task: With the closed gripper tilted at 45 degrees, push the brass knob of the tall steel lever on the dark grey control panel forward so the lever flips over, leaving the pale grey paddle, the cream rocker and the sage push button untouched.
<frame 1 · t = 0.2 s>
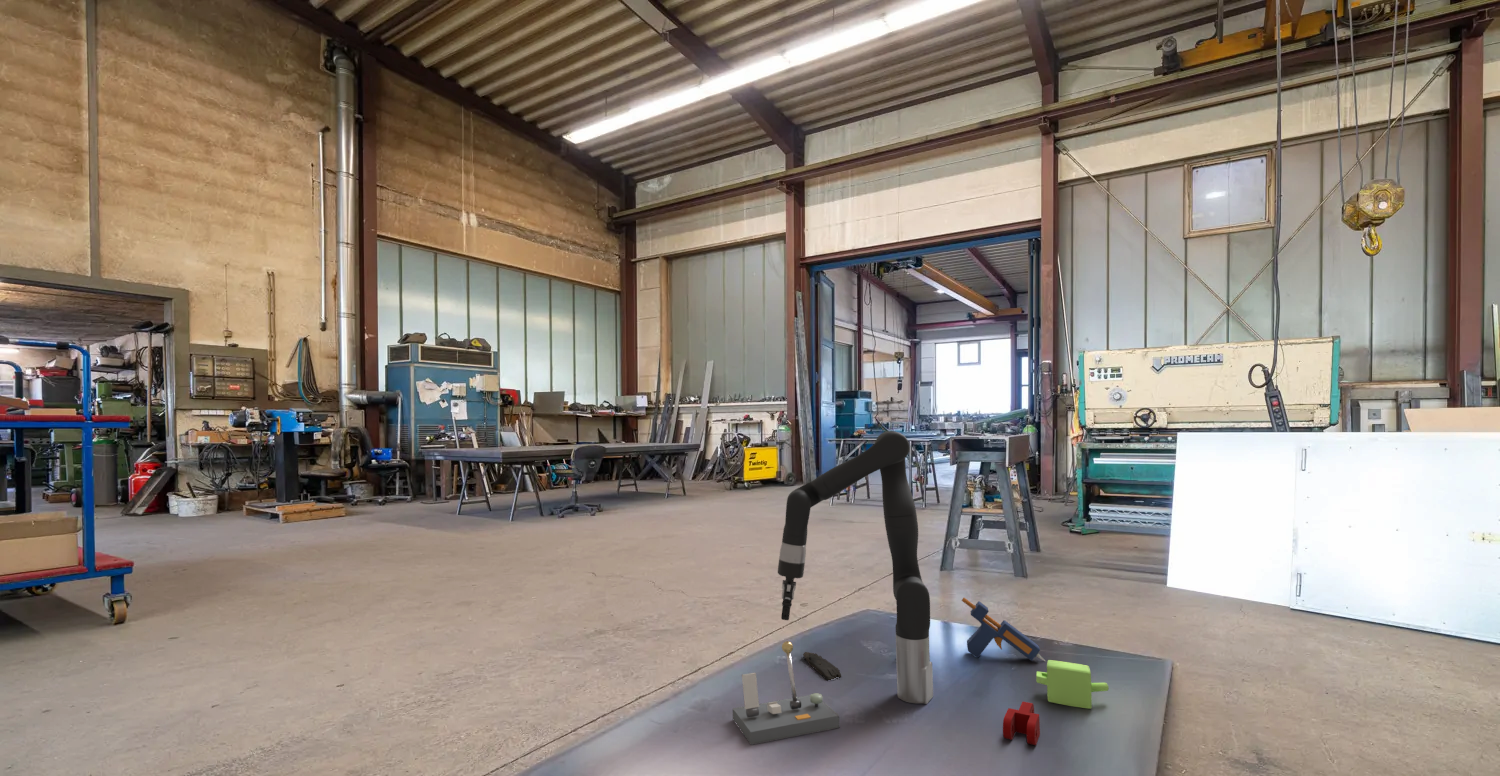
hand: (785, 615, 184), 22 cm above the table, tool pointing down, fingers open, 8 cm apart
control panel: (785, 723, 165), on the table
pale grey paddle: (750, 694, 163), point 8 cm above the table, hinge at -15.0°
brass lever: (791, 674, 169), point 11 cm above the table, hinge at -20.0°
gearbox: (1072, 700, 177), on the table
wood: (822, 669, 203), on the table
push button: (816, 700, 168), point 4 cm above the table, slide at 0.0 cm
cream rocker: (774, 707, 164), point 5 cm above the table, hinge at -8.0°
mechanical linkage: (1024, 732, 159), on the table
glue gun: (1003, 658, 209), on the table
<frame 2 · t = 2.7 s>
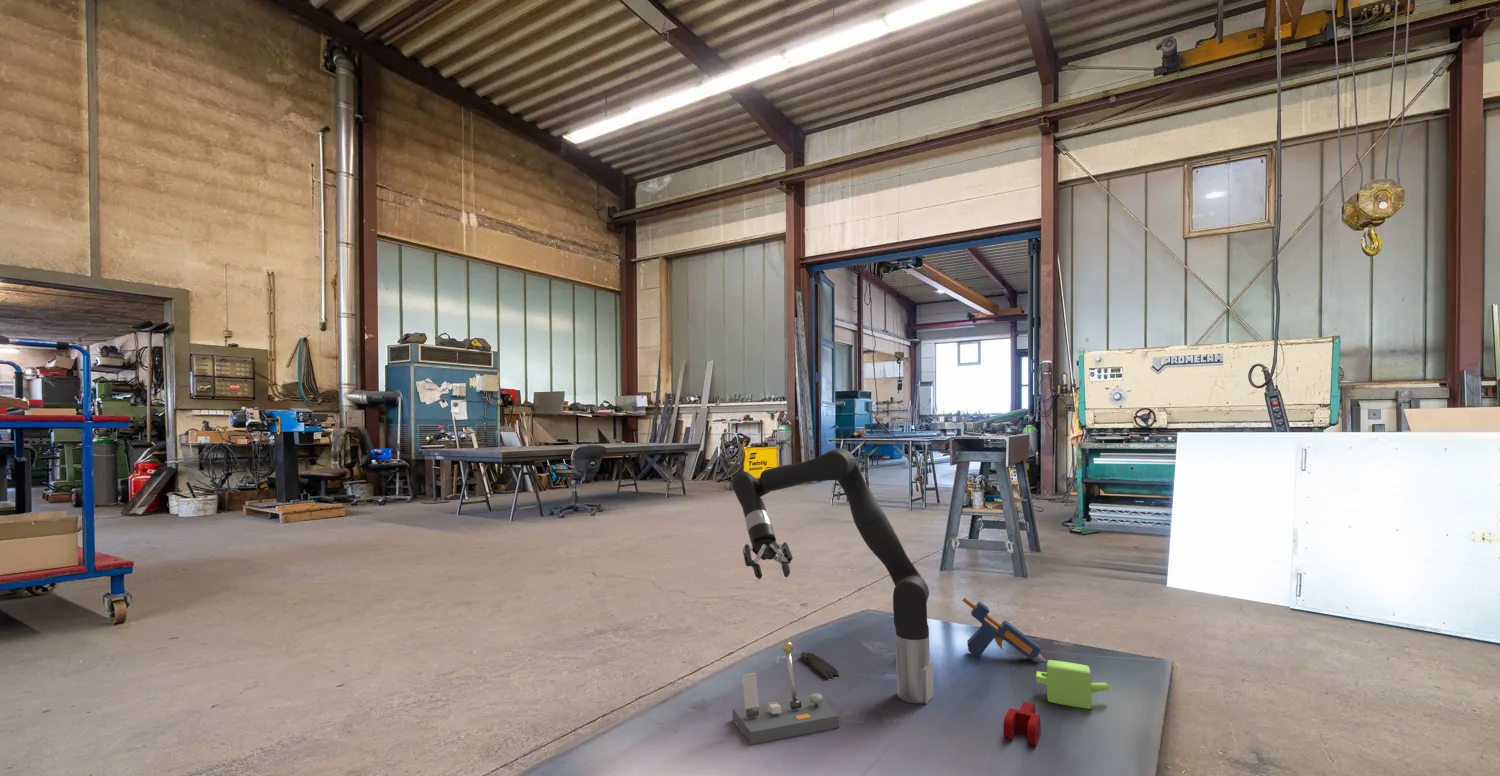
hand: (773, 576, 183), 34 cm above the table, tool tilted 40°, fingers open, 8 cm apart
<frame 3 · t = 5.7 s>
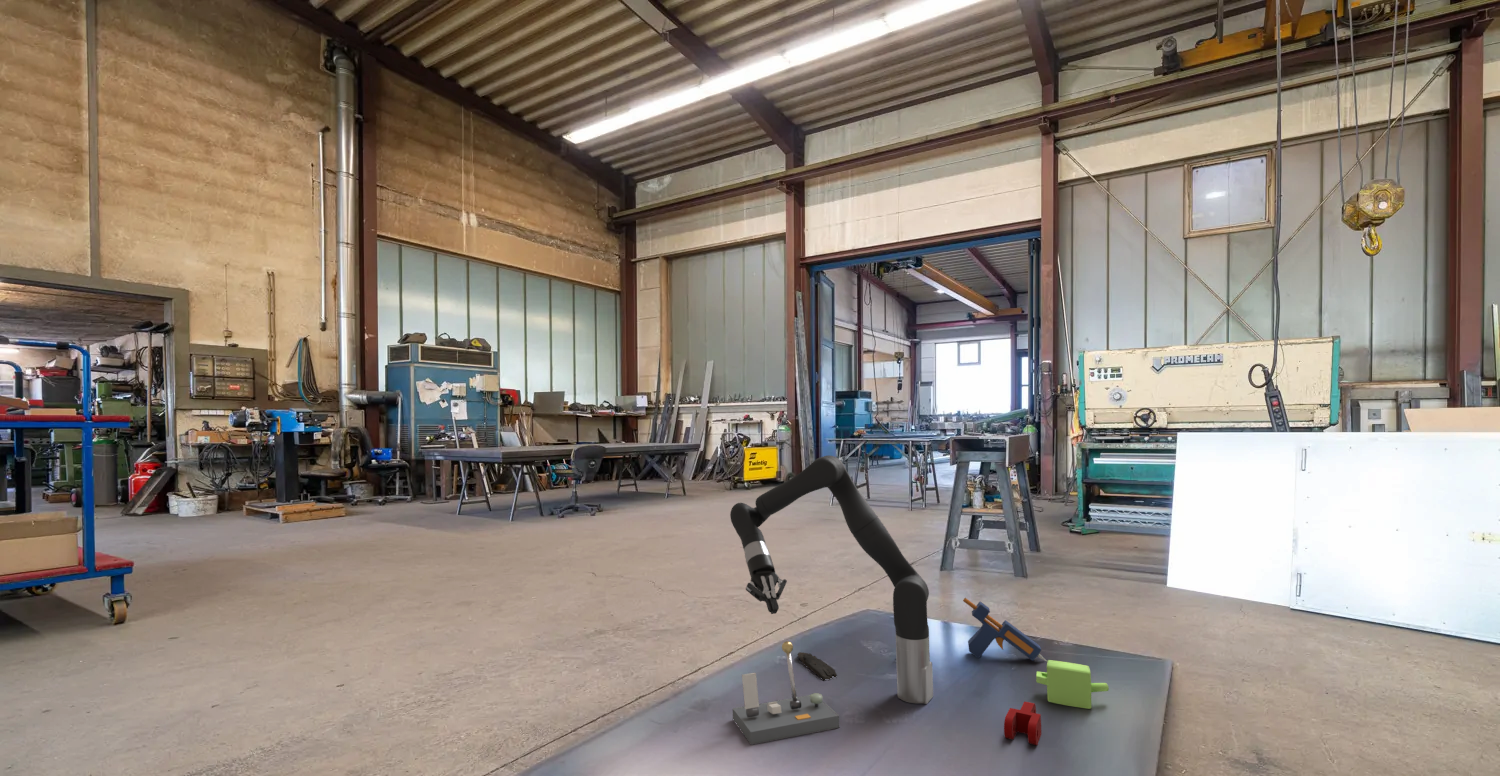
hand: (774, 612, 180), 24 cm above the table, tool tilted 45°, fingers closed
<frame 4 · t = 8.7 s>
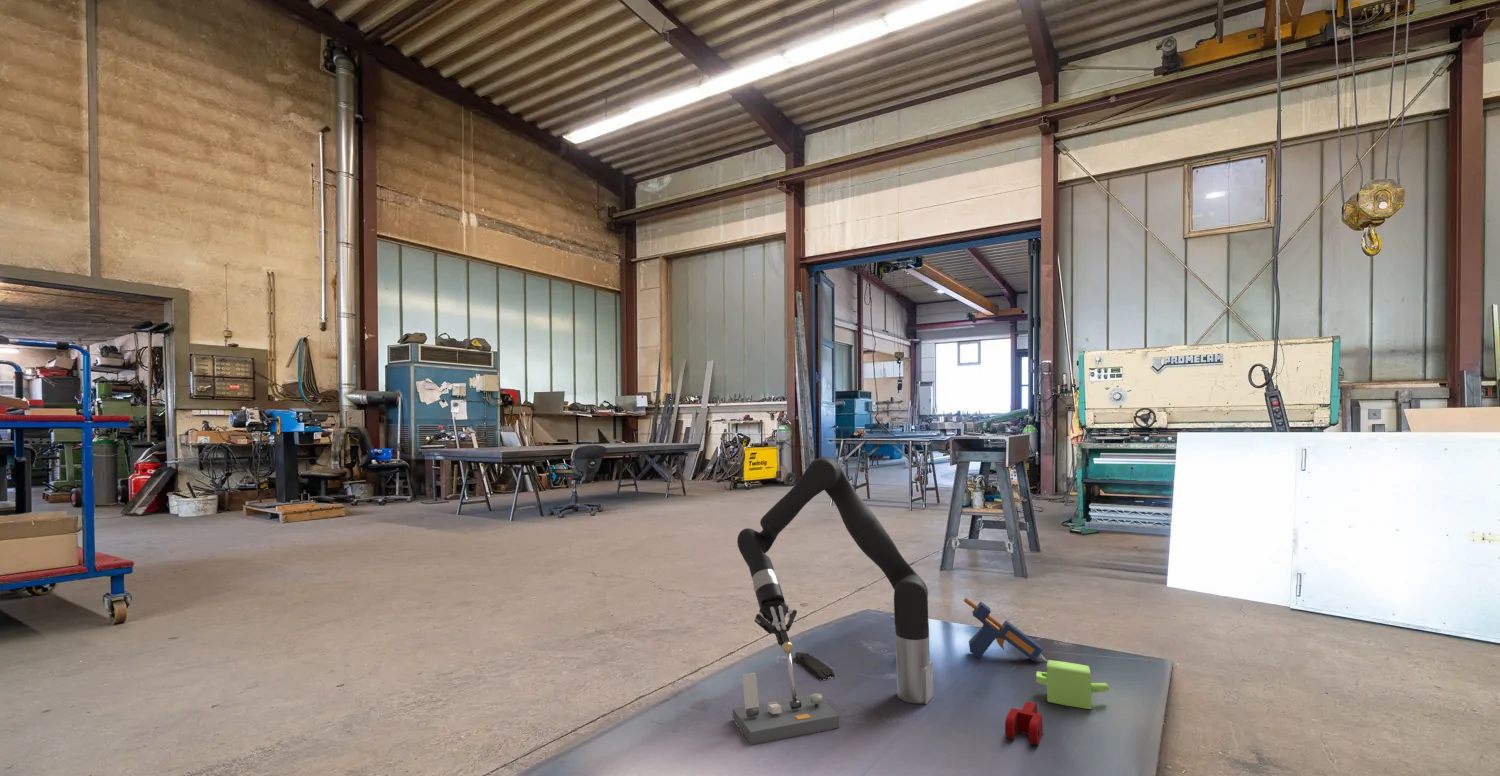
hand: (784, 645, 173), 17 cm above the table, tool tilted 45°, fingers closed
brass lever: (791, 674, 169), point 11 cm above the table, hinge at -20.0°, touching gripper
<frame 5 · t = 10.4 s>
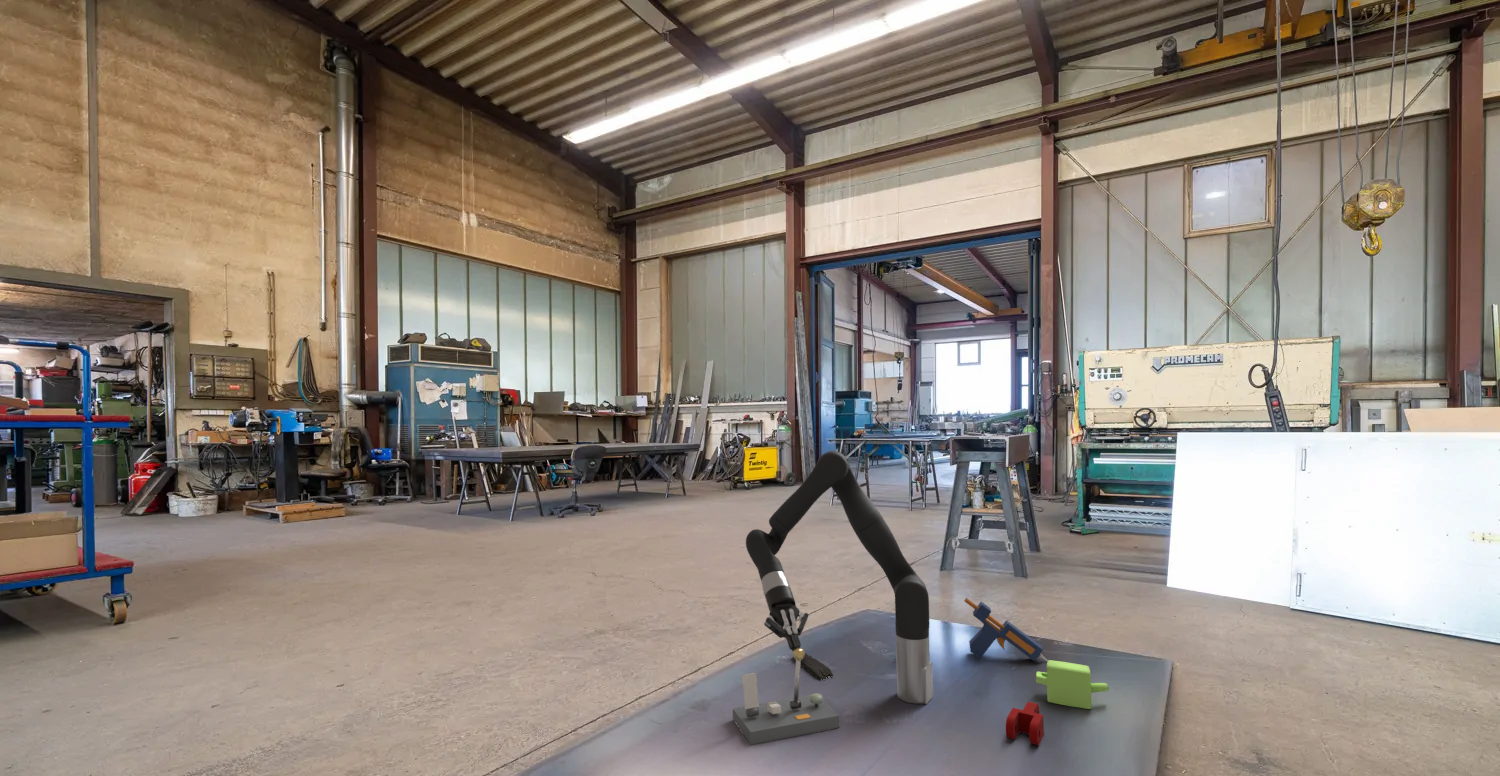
hand: (796, 649, 166), 19 cm above the table, tool tilted 45°, fingers closed
brass lever: (797, 678, 165), point 12 cm above the table, hinge at 10.9°, touching gripper
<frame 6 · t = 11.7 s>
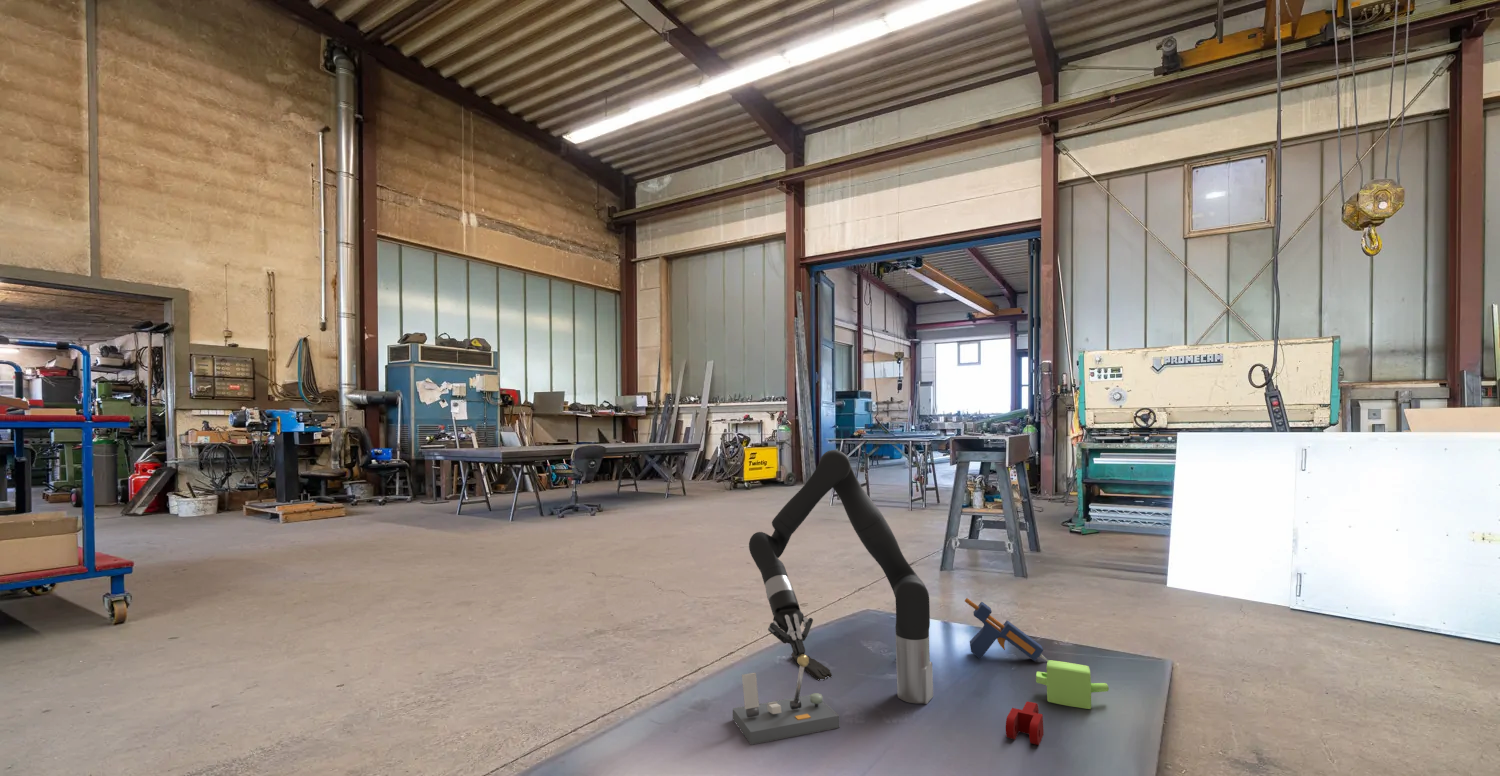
hand: (800, 655, 163), 18 cm above the table, tool tilted 45°, fingers closed
brass lever: (799, 682, 164), point 11 cm above the table, hinge at 22.2°, touching gripper
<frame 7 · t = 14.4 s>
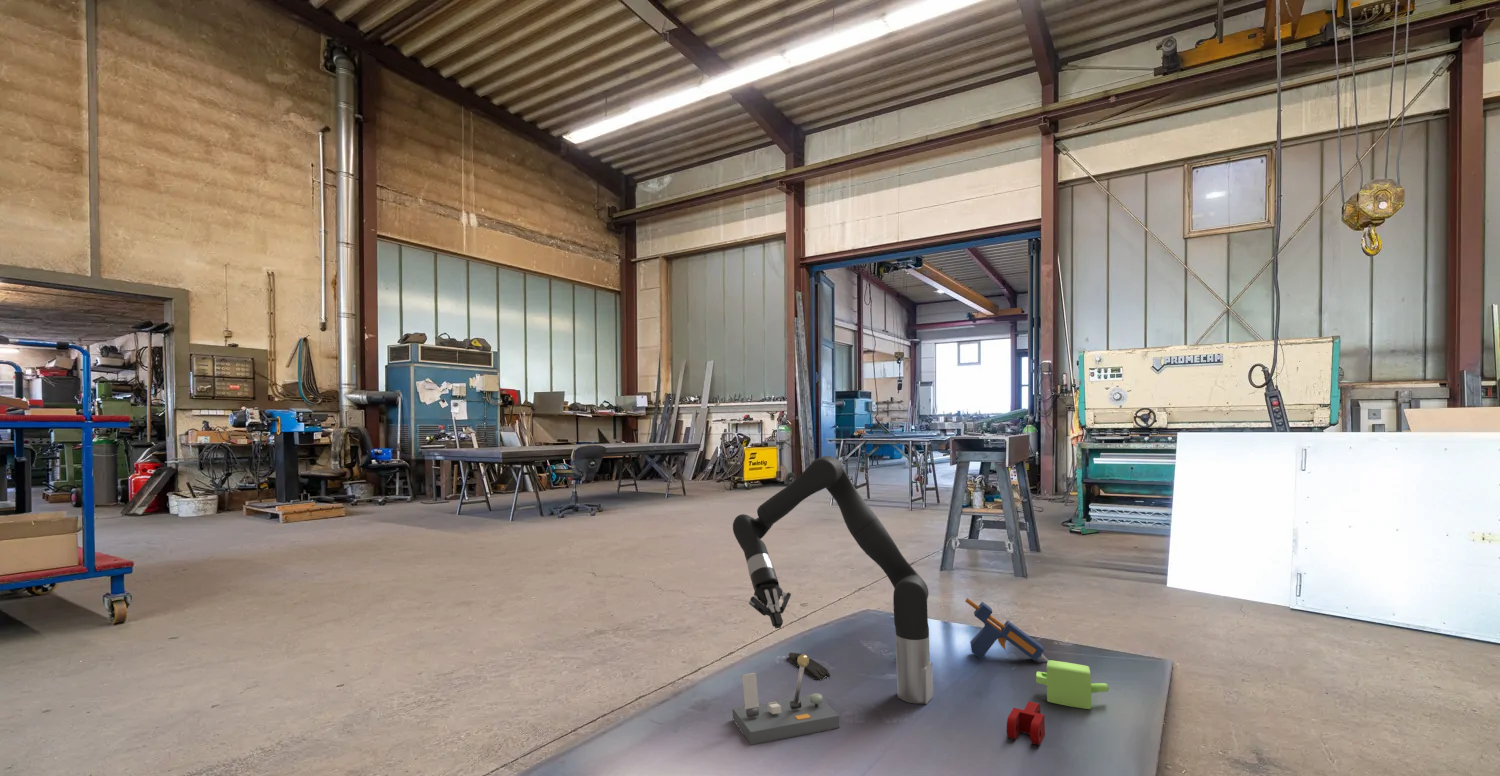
hand: (778, 626, 178), 21 cm above the table, tool tilted 45°, fingers closed
brass lever: (799, 682, 164), point 11 cm above the table, hinge at 22.4°
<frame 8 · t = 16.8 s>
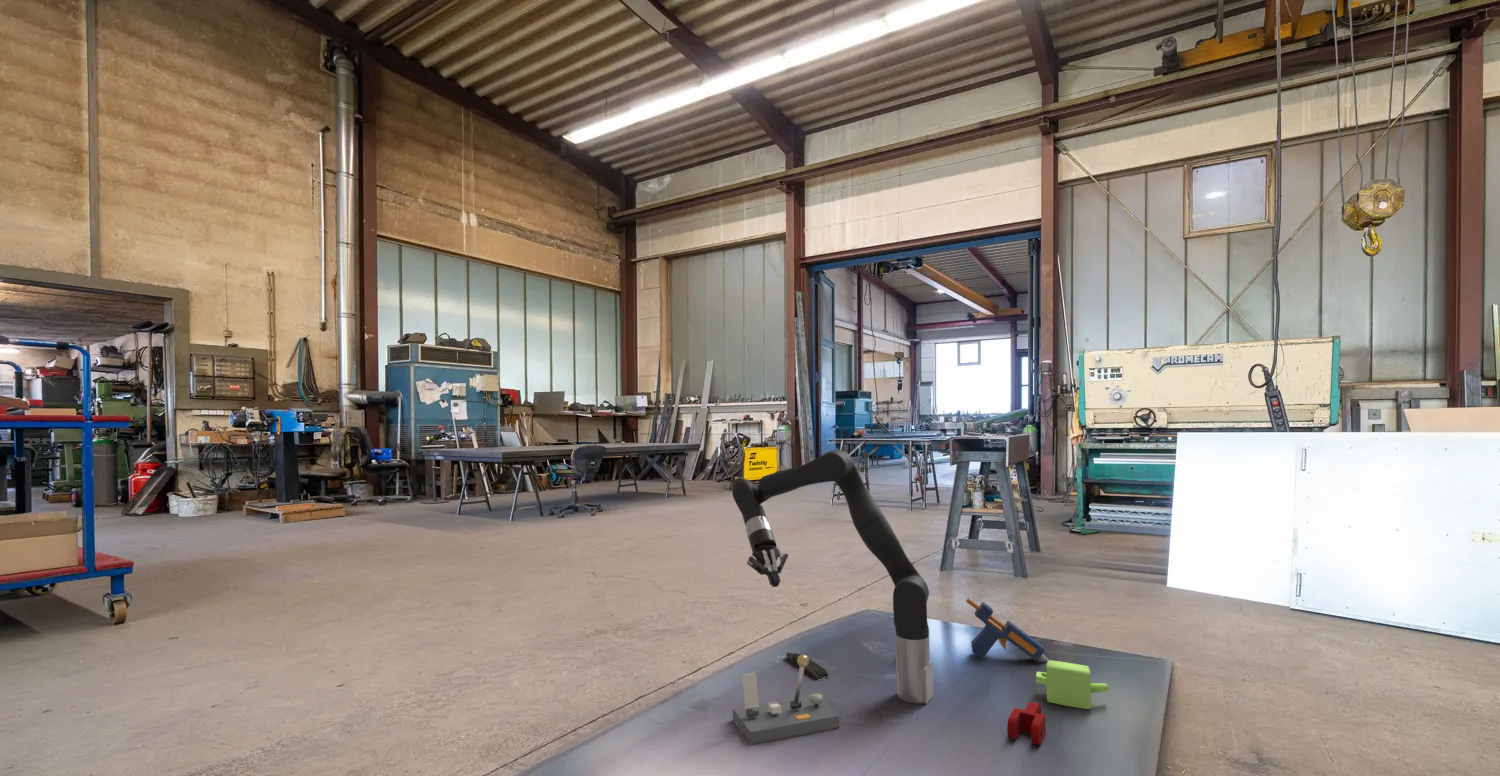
hand: (776, 585, 181), 32 cm above the table, tool tilted 45°, fingers closed
at the end: brass lever at +22° (first picture: -20°); pale grey paddle at -15° (first picture: -15°); push button slide at 0.0 cm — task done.
